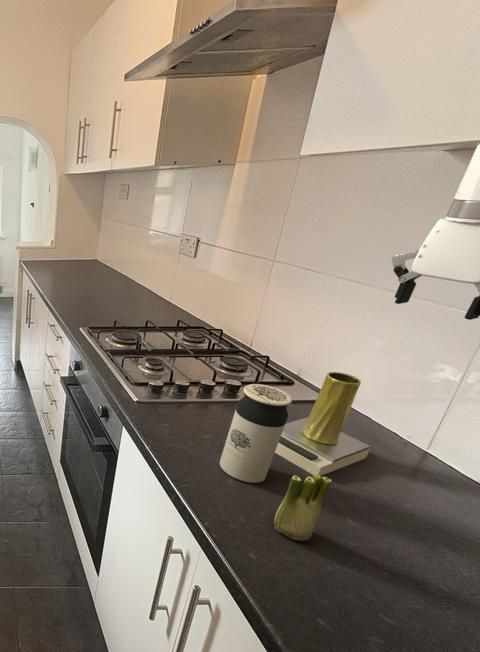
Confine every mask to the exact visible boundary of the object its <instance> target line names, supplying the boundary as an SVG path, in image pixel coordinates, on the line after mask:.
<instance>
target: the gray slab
mask: <svg viewBox="0 0 480 652" xmlns="http://www.w3.org/2000/svg"><path fill="white" fill-rule="evenodd" d="M308 417H309V416H305V417H303V418H300V419H297V420H294V421H291V422H286V424H285V426H284V429H283V432H282V434H281V435H282V436H284V437H286V438H287V439H289V440H291V441H293V442H295V443H297V444H299V445H300V446H302V447H304V448H306V449H308V450H310V451H311V452H313V453H315V454H317V455H319V456H321V457H323V458H324V459H326V460H328V461H330V462H332V463H334V462H336V461H339V460H342V459H344V458H347V457H350V456H352V455H355V454H357V453H360V452H363V451H365V450H368V449H369V448H370V449H371V445H369V444H367V443H365V442H363V441H360V440H359V439H356V438H354V437H352V436H350V435H348V434H346V433H344V432H342V431H341V433H340V435H339V438H338V443H336V444H323V443H319V442H316V441H314V440H311V439H310V438H308V437H306V436H305V435H304V434H303V432H302V429H303V428H304V426H305V424H306V422H307V419H308Z"/></svg>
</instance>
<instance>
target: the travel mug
mask: <svg viewBox="0 0 480 652" xmlns="http://www.w3.org/2000/svg"><path fill="white" fill-rule="evenodd" d="M243 393H244V394H243V395H244V396H243V397H241V398H240V399H239V400H237V401H238V402H237V404H236V408H235V411H234V415H233V417H232V420H231V424H230V426H229V431H228V434H227V437H226V440H225V443H224V446H223V449H222V450H223V451H222V453H221V455H220V460H219V466H220V468H221V469H222V470H223V471H224V472H225V473H226V474H227V475H229V476H230V477H232V478H234V479H236V480H239V481H242V482H245V483H252V484H253V483H254V484H258V483H262V482H264V481H265V480H266V478H267V476H268V472H269V469H270V467H271V464H272V462H273V458H274V456H275V454H276V453H275V451H276V448H277V445H278V442H279V440H280V437H281V434H282V432H283V429H284V426H285V424H287V421H288V418H289V412H288V406H289V405H290V404H292V402H293V398H292V397H291V395H290V394H289V393H287V392H286V391H284V390H281V389H280V388H277V387H275V386H271V385H266V384H260V383H251V384H247V385H245V386H244V387H243Z"/></svg>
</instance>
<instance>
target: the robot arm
mask: <svg viewBox="0 0 480 652" xmlns="http://www.w3.org/2000/svg"><path fill="white" fill-rule="evenodd" d="M478 144H479V143H478ZM478 144H477V145H476V148H475V150H474V152H473V155H472V157H471V159H470V161H469V164H468V165H467V168H466V170H465V172H464V175H463V177H462V179H461V181H460V184H459V186H458V189H457V190H456V193H455V194H454V195H455V196H454V197H453V200H452V202H451V203H450V206H449V209H448V210H447V213H446V215H445V217H444V218H443V217H442V218H439V220H437V222H436V223H435V225H434V226H433V227H432V229H431V230H430V231H429V233H428V234H427V236H426V237H425V239H424V241H423V243H422V245H421V246H420V248H419V249H418V250H415V251H410V252H405V253H401V254H398V255H394V256H392V257H391V262H392V267H393V272H394V274H395V275H396V277H397V278H398V282H399V285H398V286H397V290H396V292H395V293H394V298H395V300H394V304H397V305H402V304H405V303H406V304H407V303H409V301H410V299H411V297H412V295H413V293H414V291H415V288H416V286H417V282H416V280H417V279H418V278H421V277H429V278H433V279H438V280H439V279H440V280H446V281H452V282H458V283H463V284H471V285H474V286H475V288H476V289H477V291H478V293H479V295H478V296H475V297H474V298H473V299H472V302H471V304H470V306H469V307H468V309H467V311H466V313H465V315H464V319H465V320H469V321H471V320H476V319H478V318H479V317H480V144H479V145H478ZM413 259H414V260H413ZM408 260H409V261H410V260H413V262H412V265H411V270H409V269H408V268H407V266H406V261H408Z"/></svg>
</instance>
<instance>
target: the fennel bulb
mask: <svg viewBox="0 0 480 652" xmlns="http://www.w3.org/2000/svg"><path fill="white" fill-rule="evenodd" d="M332 483H333V480H332V479H331V478H328V477H327V476H319V475H316V474H313V475H312V476H307V477H306V478H305V479H304V481H303V482H302V479H301V478H300V477H299V476H297V475H292V476H291V478H290V482H289V484H288V488H287V489H286V493H285V495H284V498H283V500H282V502H280V504H279V506H278V508H277V510H276V512H275V515H274V518H273V519H274V520H273V528H274V529H275V530H276V531H277V532H278V533H280V534H282V535H283V536H285V537H287V538H288V539H290V540H293V541H296V542H306V541H309V540H310V539H311V538H312V535H313V533H314V530H315V528H316V525H317V523H318V521H319V517H320V514H321V511H322V510H321V509H322V504H323V500H324V497H325V494H326V493H327V491H328V490H329V488H330V486H331V485H332Z"/></svg>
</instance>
